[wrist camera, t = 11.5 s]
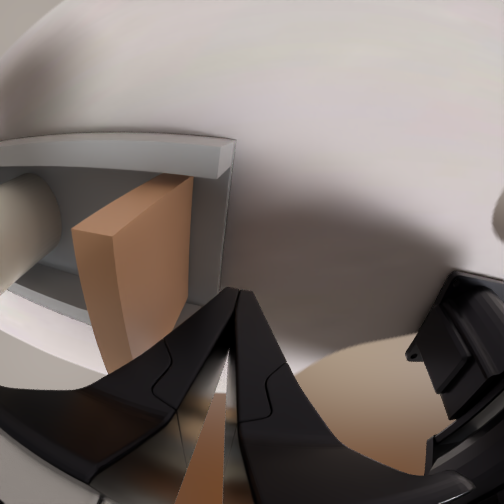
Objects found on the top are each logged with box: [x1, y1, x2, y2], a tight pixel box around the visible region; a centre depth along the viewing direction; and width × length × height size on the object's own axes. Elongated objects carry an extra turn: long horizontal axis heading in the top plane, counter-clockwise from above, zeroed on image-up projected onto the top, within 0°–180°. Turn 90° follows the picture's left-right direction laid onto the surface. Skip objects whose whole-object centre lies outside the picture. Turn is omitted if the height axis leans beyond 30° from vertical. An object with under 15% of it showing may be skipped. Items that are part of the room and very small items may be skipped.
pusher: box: [71, 173, 194, 374], centre depth 9 cm, size 1×6×6 cm, turn 172°
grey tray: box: [0, 132, 236, 330], centre depth 11 cm, size 17×9×5 cm, turn 82°
